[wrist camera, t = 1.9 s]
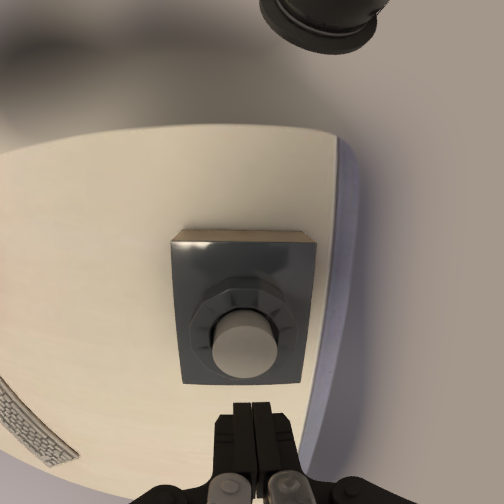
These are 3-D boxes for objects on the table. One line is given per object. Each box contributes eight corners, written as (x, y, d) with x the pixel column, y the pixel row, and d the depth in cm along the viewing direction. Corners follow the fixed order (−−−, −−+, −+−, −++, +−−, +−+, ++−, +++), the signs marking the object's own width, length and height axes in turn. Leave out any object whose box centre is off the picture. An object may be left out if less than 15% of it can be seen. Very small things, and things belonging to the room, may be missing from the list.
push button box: (181, 229, 21) (162, 248, 15) (302, 231, 21) (327, 250, 16) (188, 355, 24) (178, 401, 18) (291, 355, 24) (306, 400, 18)
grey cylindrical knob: (213, 308, 17) (211, 325, 15) (274, 309, 17) (279, 325, 15) (215, 358, 17) (213, 378, 15) (271, 358, 18) (275, 377, 16)
